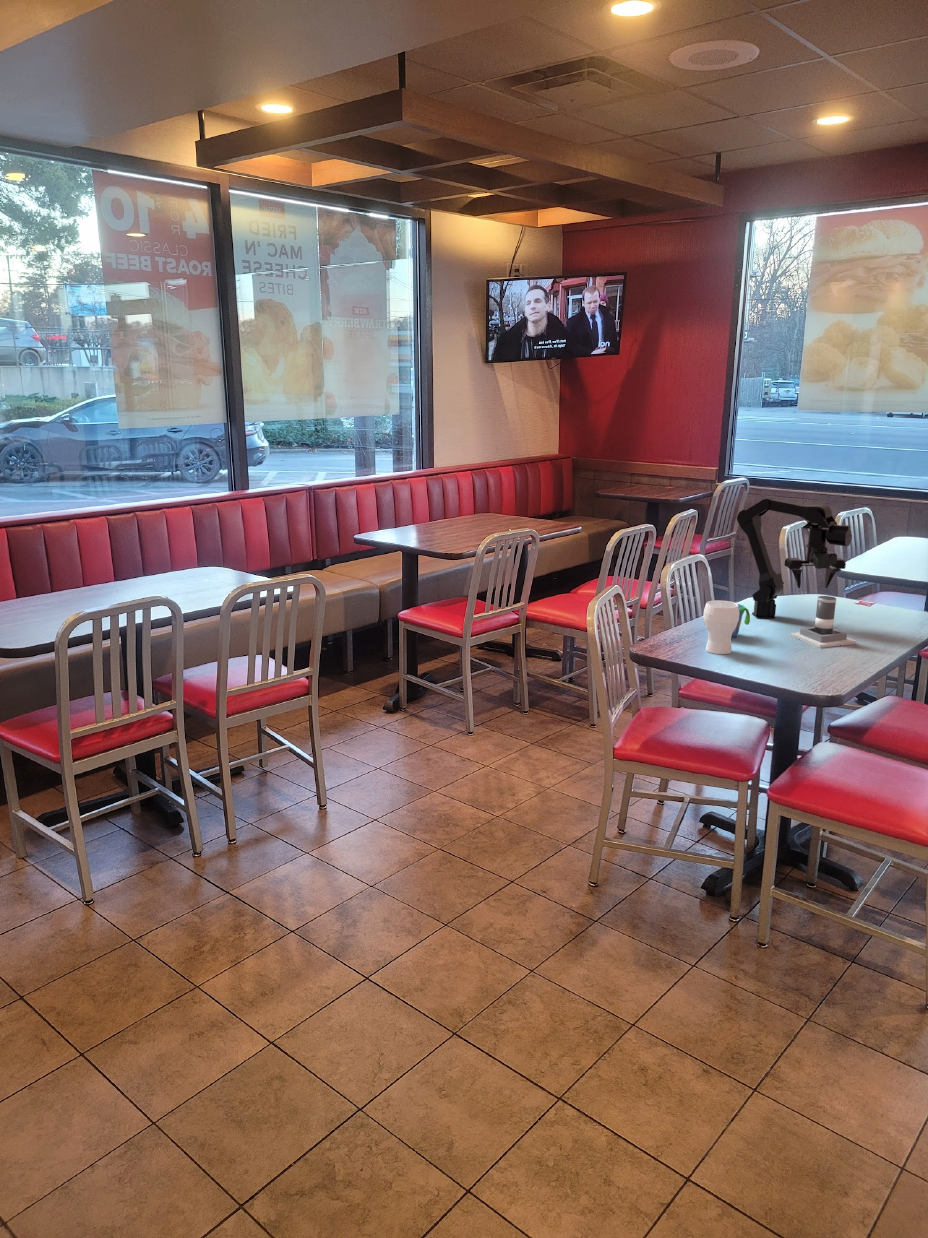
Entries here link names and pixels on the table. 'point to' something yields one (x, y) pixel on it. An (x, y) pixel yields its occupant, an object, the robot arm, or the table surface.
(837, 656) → the table surface
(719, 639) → the cup
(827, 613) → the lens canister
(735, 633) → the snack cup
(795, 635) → the square framed plate
